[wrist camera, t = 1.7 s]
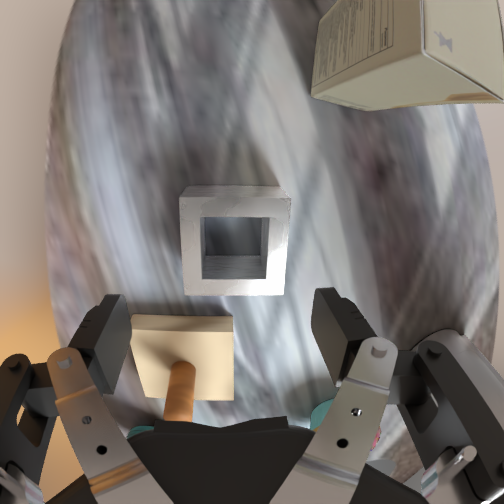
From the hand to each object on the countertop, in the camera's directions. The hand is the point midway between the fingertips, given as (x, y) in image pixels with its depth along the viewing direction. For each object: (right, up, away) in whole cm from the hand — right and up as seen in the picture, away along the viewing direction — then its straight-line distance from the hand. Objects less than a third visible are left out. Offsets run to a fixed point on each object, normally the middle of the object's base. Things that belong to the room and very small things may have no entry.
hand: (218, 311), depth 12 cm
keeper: (-4, -6, +12) cm, 14 cm away
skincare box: (+7, +15, +4) cm, 17 cm away
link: (0, +4, +8) cm, 9 cm away
